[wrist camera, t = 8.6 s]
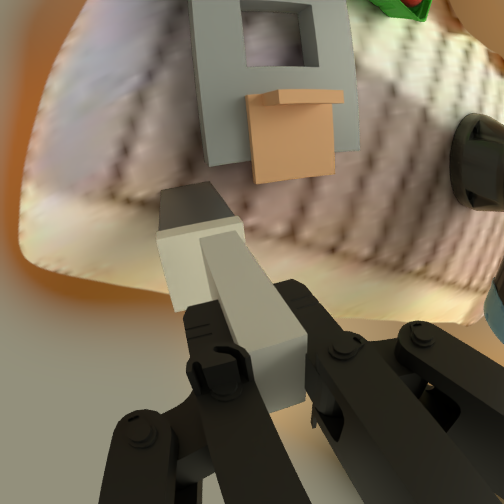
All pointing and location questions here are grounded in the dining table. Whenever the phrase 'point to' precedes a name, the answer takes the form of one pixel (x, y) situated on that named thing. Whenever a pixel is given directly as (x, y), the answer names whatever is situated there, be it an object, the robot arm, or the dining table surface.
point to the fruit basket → (405, 8)
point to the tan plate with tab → (291, 133)
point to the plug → (190, 238)
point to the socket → (268, 70)
